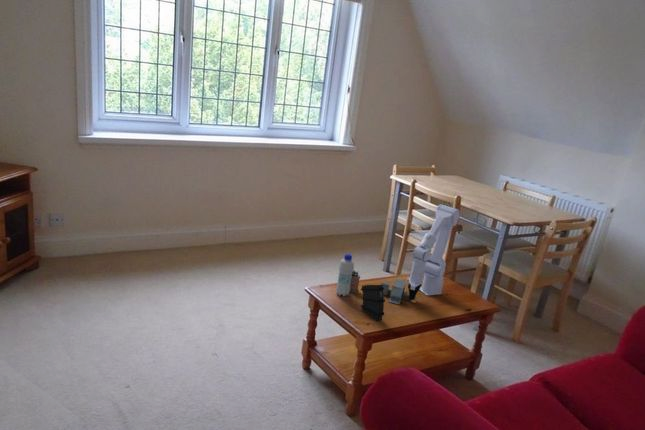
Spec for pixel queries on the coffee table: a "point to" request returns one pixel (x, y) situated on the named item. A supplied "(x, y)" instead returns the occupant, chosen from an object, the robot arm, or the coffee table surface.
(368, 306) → the black ribbed block
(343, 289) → the bottle
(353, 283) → the lighter
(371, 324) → the coffee table surface
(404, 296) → the plug
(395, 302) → the housing
